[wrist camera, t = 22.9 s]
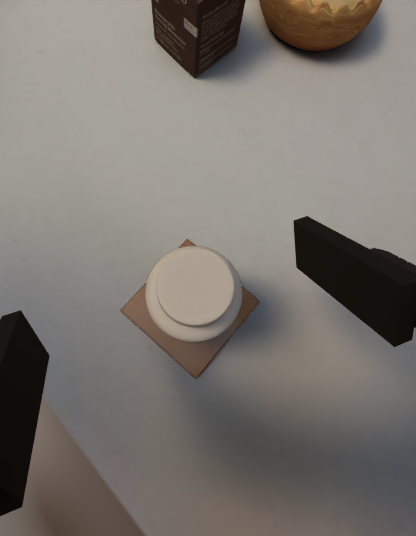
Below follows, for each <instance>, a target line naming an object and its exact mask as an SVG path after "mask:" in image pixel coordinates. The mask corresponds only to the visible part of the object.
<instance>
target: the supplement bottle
mask: <svg viewBox="0 0 416 536" xmlns="http://www.w3.org/2000/svg"><path fill="white" fill-rule="evenodd" d="M145 297H146V305H147V308H148V311H149V314H150V316H151V318H152V319H153V321H154V322H155V324H156V325H157V326H158V327H159V328H160V329H161V330H162V331H163V332H164V333H165V334H167V335H168V336H170V337H173V338H175V339H177V340H180V341H185V342H203V341H207V340H210V339H212V338H215V337H217V336H218V335H220V334H222V333H223V332H224V331H225V330H227V329H228V328H229V327H230V325H231V324H232V323H233V322H234V320H235V318H236V317H237V315H238V312H239V310H240V307H241V302H242V286H241V281H240V278H239V276H238V273H237V271H236V270H235V268H234V267H233V265H232V264H231V263H230V262H229V260H228V259H226V258H225V257H224V256H223V255H221V254H220V253H218V252H216V251H214V250H212V249H209V248H206V247H202V246H187V247H182V248H178V249H176V250H173V251H171V252H169V253H168V254H166V255H165V256H164V257H162V258H161V259H160V260H159V261H158V262H157V263H156V265H155V266H154V267H153V269H152V271H151V272H150V275H149V277H148V280H147V284H146V290H145Z"/></svg>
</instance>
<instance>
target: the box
mask: <svg viewBox="0 0 416 536" xmlns="http://www.w3.org/2000/svg"><path fill="white" fill-rule="evenodd" d="M151 1H152V13H153V23H154V35H155V39H156V41H157V42H158V43H159V44H160V45H161V46H162V47H163V48H164V49H165V50H166V51H167V52H168V53H169V54H170V55H171V56H172V57H173V58H174V59H175V60H176V61H177V62H178V63H179V64H180V65H181V66H182V67H184V68H185V69H186V70H187V71H188V72H189V73H190V74H191V75H192V76H195V77H197V76H198V75H199V74H201V73H202V72H203V71H205V70H206V69H207V68H208V67H210V66H211V65H212V64H213V63H215V62H216V61H217V60H219V59H220V58H221V57H223V56H224V55H226V54H227V53H229V52H230V51H232V50H233V49H234V48H235V47H236V45H237V40H238V36H239V31H240V25H241V21H242V16H243V10H244V5H245V0H151Z"/></svg>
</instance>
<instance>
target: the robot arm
mask: <svg viewBox="0 0 416 536" xmlns="http://www.w3.org/2000/svg"><path fill="white" fill-rule="evenodd" d="M294 235H295V251H296V266H297V268H298V269H299V270H300V271H302V272H303V273H304V274H305V275H306V276H308V277H309V278H310V279H311V280H313V281H314V282H315V283H316V284H318V285H319V286H320V287H321V288H322V289H324V290H325V291H326V292H327V293H329V294H330V295H331V296H332V297H333V298H335V299H336V300H337V301H338V302H340V303H341V304H342V305H343V306H345V307H346V308H347V309H348V310H349V311H351V312H352V313H353V314H354V315H356V316H357V317H358V318H359V319H361V320H362V321H363V322H364V323H365V324H367V325H368V326H369V327H370V328H372V329H373V330H374V331H375V332H377V333H378V334H379V335H380V336H381V337H383V338H384V339H385V340H386V341H388V342H389V343H390V344H391V345H393V346H394V347H396V346H398V345H401V344H403V343H405V342H408V341H410V340H412V337H413V331H414V327H415V328H416V265H414V264H412V263H410V262H408V263H407V261H406V260H404V259H402V258H398V256H396V255H394V254H392V253H390V252H388V251H384V250H380V249H376V248H372V249H368V248H366V247H364V246H362V245H360V244H358V243H357V242H355V241H353V240H351V239H349V238H347V237H345V236H343V235H342V234H340V233H338V232H336V231H334V230H332V229H330V228H328V227H326V226H325V225H323V224H321V223H319V222H317V221H315V220H313V219H311V218H309V217H308V216H306V217H303V218H300V219H297V220H294ZM48 361H49V354H48V353H47V351H46V349H45V348H44V346H43V345H42V343H41V342H40V340H39V338H38V337H37V335H36V334H35V332H34V330H33V329H32V327H31V326H30V324H29V323H28V321H27V319H26V318H25V316H24V315H23V313H22V312H21V310H20V311H17V312H14V313H11V314H8V315H5V316H2V318H1V320H0V516H2V515H4V514H7V513H8V512H11V511H13V510H16V509H18V508H21V507H22V504H23V499H24V493H25V488H26V482H27V476H28V471H29V465H30V460H31V454H32V449H33V443H34V438H35V432H36V427H37V421H38V415H39V410H40V405H41V399H42V394H43V388H44V383H45V377H46V372H47V366H48Z"/></svg>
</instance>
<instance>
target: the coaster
mask: <svg viewBox="0 0 416 536" xmlns="http://www.w3.org/2000/svg"><path fill="white" fill-rule="evenodd" d="M187 246H195V245H194V244H193V243H191V242H190V241H189V240H188V239H187V240H186V241H185V242H184V243H183V244H182V245H181V246H180V247H179V248H182V247H187ZM146 284H147V282H146V283H145V284H144V285H143V287H142V288H141V289H140V290H139V291H138V292H137V293H136V294H135V295H134V296H133V297H132V298H131V299H130V300H129V301H128V303H127V304H126V305H125V306H124V307H123V308H122V309H121V310H120V311H121V312H122V313H123V314H124V315H126V316H127V317H128V318H129V319H130V320H131V321H132V322H133V323H134V324H135V325H137V326H138V327H139V328H140V329H141V330H142V331H143V332H144V333H145V334H146V335H148V336H149V337H150V338H151V339H152V340H153V341H154V342H155V343H156V344H158V345H159V346H160V347H161V348H162V349H163V350H164V351H165V352H166V353H167V354H169V355H170V356H171V357H172V358H173V359H174V360H175V361H176V362H177V363H178V364H180V365H181V366H182V367H183V368H184V369H185V370H186V371H187V372H188V373H190V374H191V375H192V376H193V377H194V378H195V379H196V378H197V377H198V376H199V375H200V373H201V372H202V371H203V370H204V369H205V367H206V366H207V365H208V364H209V363H210V361H211V360H212V359H213V358H214V356H215V355H216V354H217V353H218V352H219V350H220V349H221V348H222V347H223V346H224V344H225V343H226V342H227V341H228V339H229V338H230V337H231V336H232V335H233V333H234V332H235V331H236V330H237V329H238V327H239V326H240V325H241V324H242V322H243V321H244V320H245V319H246V318H247V316H248V315H249V314H250V313H251V312H252V310H253V309H254V308H255V307H256V305H257V304H258V303H259V302H260V301H259V300H258V299H257V298H256V297H254V296H253V295H252V294H251V293H250V292H249V291H247V290H246V289H245V288H244V287H243V286H242V285H241V286H242V302H241V307H240V310H239V312H238V315H237V317H236V318H235V320H234V322H233V323H232V324H231V325H230V327H229V328H228V329H227V330H225V331H224V332H223V333H222V334H220V335H218V336H217V337H215V338H212V339H210V340H207V341H203V342H185V341H180V340H177V339H175V338H173V337H170V336H168V335H167V334H165V333H164V332H163V331H162V330H161V329H160V328H159V327H158V326H157V325H156V324H155V322H154V321H153V319H152V318H151V316H150V314H149V311H148V308H147V305H146V297H145V290H146Z"/></svg>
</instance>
